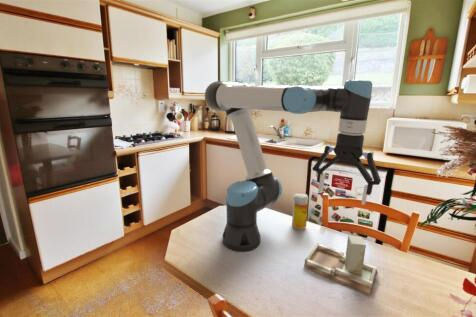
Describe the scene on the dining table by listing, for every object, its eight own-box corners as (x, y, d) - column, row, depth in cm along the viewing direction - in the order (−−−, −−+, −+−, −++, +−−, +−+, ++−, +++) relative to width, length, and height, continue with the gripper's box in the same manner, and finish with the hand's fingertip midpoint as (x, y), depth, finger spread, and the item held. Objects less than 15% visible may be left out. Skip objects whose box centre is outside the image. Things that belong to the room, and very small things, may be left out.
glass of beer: (307, 230, 106) (310, 197, 102) (293, 230, 106) (295, 197, 102) (304, 223, 112) (306, 192, 108) (290, 222, 112) (292, 192, 108)
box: (361, 277, 77) (366, 246, 75) (347, 274, 78) (351, 244, 75) (357, 266, 82) (362, 236, 79) (344, 264, 83) (348, 234, 80)
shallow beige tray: (303, 267, 84) (304, 260, 83) (317, 248, 94) (317, 242, 93) (369, 295, 72) (370, 287, 71) (376, 270, 82) (377, 263, 82)
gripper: (307, 129, 80) (300, 190, 86) (397, 141, 65) (382, 213, 71) (315, 127, 85) (309, 184, 91) (400, 137, 71) (386, 204, 77)
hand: (341, 197), depth 81 cm, fingers open, 13 cm apart
